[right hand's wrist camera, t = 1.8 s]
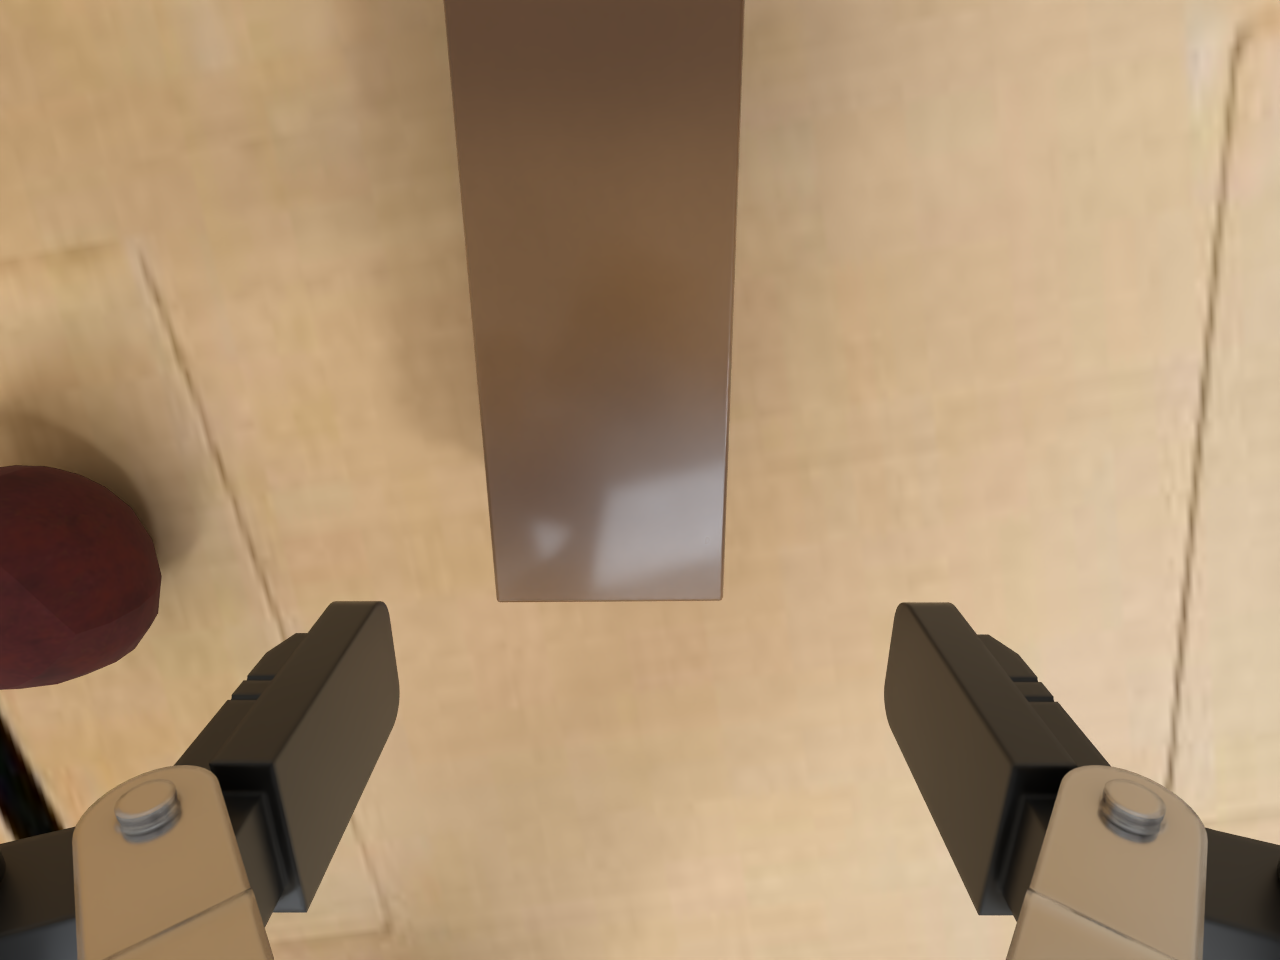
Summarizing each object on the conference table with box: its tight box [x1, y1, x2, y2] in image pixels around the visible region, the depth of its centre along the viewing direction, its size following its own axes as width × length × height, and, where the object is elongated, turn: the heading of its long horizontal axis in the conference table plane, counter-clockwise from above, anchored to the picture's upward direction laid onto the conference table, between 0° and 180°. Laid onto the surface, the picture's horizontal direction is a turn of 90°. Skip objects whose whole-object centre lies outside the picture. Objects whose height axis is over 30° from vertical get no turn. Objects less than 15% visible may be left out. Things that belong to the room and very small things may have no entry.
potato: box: [0, 465, 161, 690], centre depth 24 cm, size 7×8×7 cm
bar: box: [444, 0, 745, 602], centre depth 18 cm, size 27×6×9 cm, turn 1°
